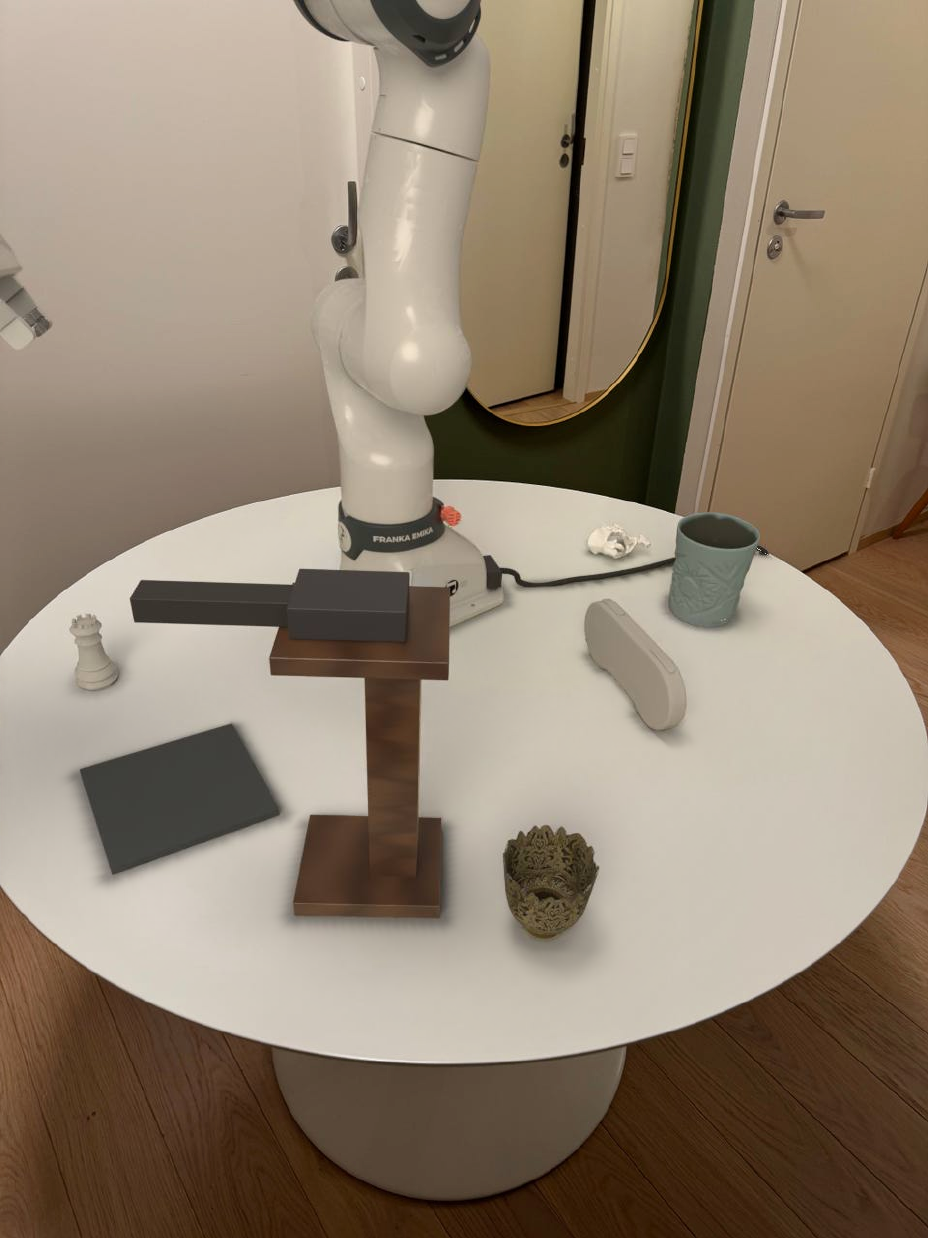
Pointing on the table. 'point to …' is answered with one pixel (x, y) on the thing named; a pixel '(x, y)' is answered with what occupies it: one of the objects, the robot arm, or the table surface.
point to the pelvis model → (600, 544)
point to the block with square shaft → (287, 604)
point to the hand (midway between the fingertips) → (38, 337)
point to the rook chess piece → (92, 655)
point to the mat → (175, 796)
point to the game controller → (636, 664)
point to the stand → (377, 772)
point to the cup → (548, 880)
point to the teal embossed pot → (710, 567)
